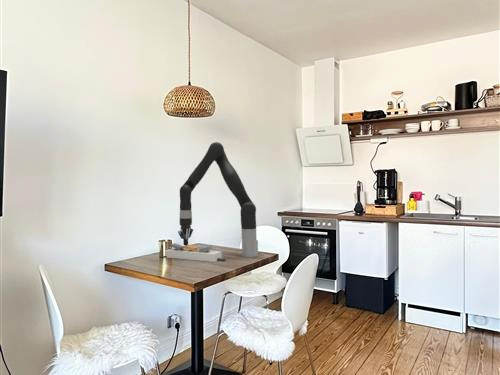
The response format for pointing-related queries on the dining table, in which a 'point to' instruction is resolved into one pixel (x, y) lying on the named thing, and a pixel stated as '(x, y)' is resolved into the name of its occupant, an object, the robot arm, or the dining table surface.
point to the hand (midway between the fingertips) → (185, 245)
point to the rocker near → (205, 248)
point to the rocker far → (177, 246)
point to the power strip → (194, 254)
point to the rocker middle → (191, 247)
